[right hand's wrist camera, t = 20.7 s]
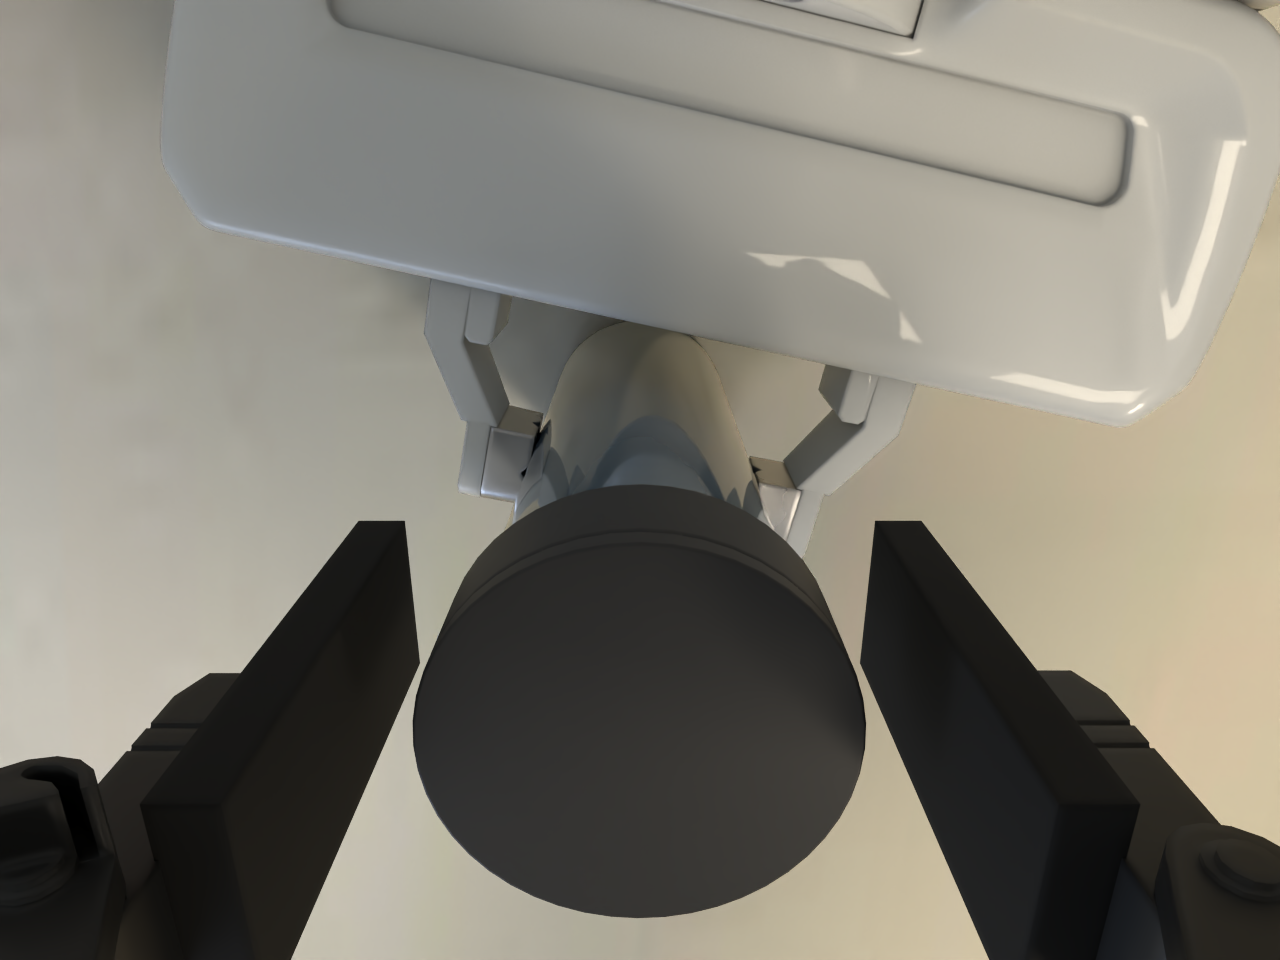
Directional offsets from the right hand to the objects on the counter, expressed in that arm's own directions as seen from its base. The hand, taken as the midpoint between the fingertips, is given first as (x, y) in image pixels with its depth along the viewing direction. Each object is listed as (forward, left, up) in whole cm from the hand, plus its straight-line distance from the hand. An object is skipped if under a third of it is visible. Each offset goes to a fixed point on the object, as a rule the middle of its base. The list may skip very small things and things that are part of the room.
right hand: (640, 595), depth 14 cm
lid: (0, 0, +4) cm, 4 cm away
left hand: (-1, +1, -5) cm, 5 cm away
